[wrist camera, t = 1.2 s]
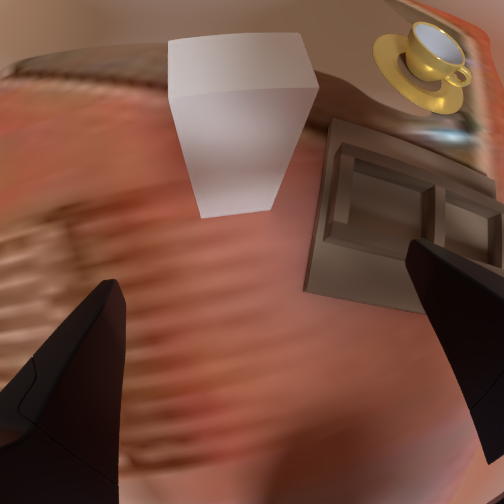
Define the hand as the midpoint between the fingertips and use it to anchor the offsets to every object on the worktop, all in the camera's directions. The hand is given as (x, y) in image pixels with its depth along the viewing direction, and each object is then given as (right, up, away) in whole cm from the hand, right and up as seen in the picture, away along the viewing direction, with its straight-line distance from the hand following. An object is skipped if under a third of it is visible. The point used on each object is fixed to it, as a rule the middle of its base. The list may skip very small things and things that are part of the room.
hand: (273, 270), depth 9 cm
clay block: (-2, +5, +14) cm, 15 cm away
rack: (+13, +3, +15) cm, 20 cm away
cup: (+18, +20, +19) cm, 33 cm away
